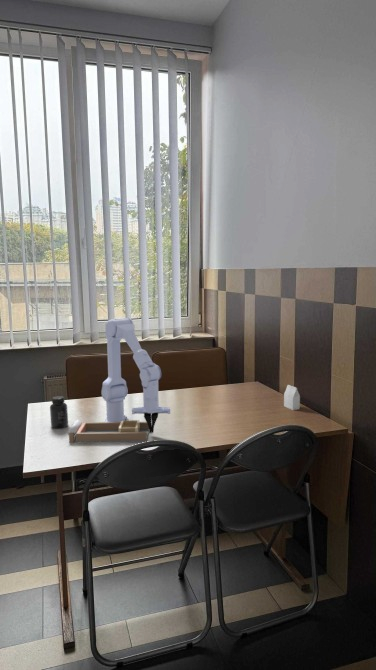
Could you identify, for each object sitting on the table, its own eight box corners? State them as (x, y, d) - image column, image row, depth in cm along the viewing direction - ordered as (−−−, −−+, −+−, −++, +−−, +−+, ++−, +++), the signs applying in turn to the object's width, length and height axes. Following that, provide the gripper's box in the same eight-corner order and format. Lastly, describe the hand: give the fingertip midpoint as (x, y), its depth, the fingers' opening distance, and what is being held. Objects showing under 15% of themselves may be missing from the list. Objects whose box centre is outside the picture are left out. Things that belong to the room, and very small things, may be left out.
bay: (75, 430, 191) (74, 418, 190) (149, 429, 191) (148, 417, 190) (67, 442, 178) (66, 430, 177) (146, 441, 178) (146, 429, 177)
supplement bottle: (69, 423, 200) (68, 395, 198) (66, 428, 193) (64, 399, 191) (53, 423, 200) (51, 395, 198) (49, 428, 193) (47, 400, 191)
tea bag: (292, 410, 215) (293, 388, 214) (283, 406, 221) (284, 385, 220) (299, 409, 217) (300, 387, 215) (290, 405, 223) (291, 384, 221)
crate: (121, 430, 189) (121, 420, 188) (139, 430, 189) (139, 420, 188) (118, 438, 180) (118, 428, 179) (137, 438, 180) (137, 428, 179)
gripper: (130, 400, 178) (131, 435, 180) (169, 400, 178) (170, 435, 180) (132, 395, 185) (133, 429, 187) (170, 394, 185) (170, 428, 187)
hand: (151, 431), depth 184 cm, fingers closed
